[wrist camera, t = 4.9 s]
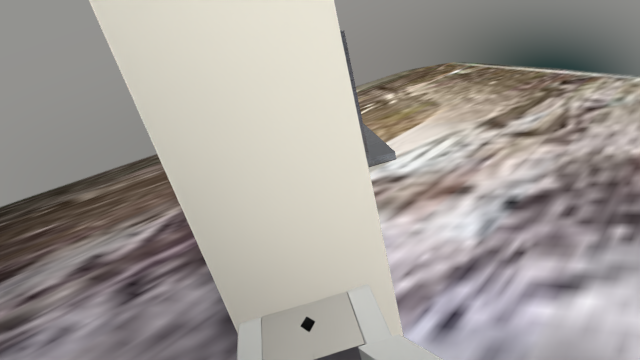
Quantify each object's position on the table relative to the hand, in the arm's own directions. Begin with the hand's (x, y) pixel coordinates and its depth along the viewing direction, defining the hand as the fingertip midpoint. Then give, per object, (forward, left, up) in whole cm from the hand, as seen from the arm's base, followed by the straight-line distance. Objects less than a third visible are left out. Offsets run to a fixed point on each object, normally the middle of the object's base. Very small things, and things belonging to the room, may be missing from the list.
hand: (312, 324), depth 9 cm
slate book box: (0, +10, -6) cm, 11 cm away
